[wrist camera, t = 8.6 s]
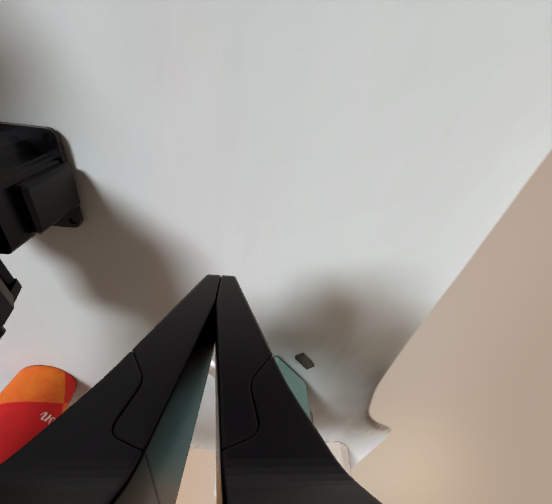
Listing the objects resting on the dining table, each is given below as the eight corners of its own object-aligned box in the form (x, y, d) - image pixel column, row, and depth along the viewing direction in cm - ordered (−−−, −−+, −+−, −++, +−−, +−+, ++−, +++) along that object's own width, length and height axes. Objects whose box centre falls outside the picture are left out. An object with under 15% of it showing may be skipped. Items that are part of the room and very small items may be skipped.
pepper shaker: (343, 438, 42) (367, 543, 32) (349, 452, 44) (373, 553, 35) (308, 445, 42) (322, 550, 33) (316, 459, 45) (331, 559, 36)
